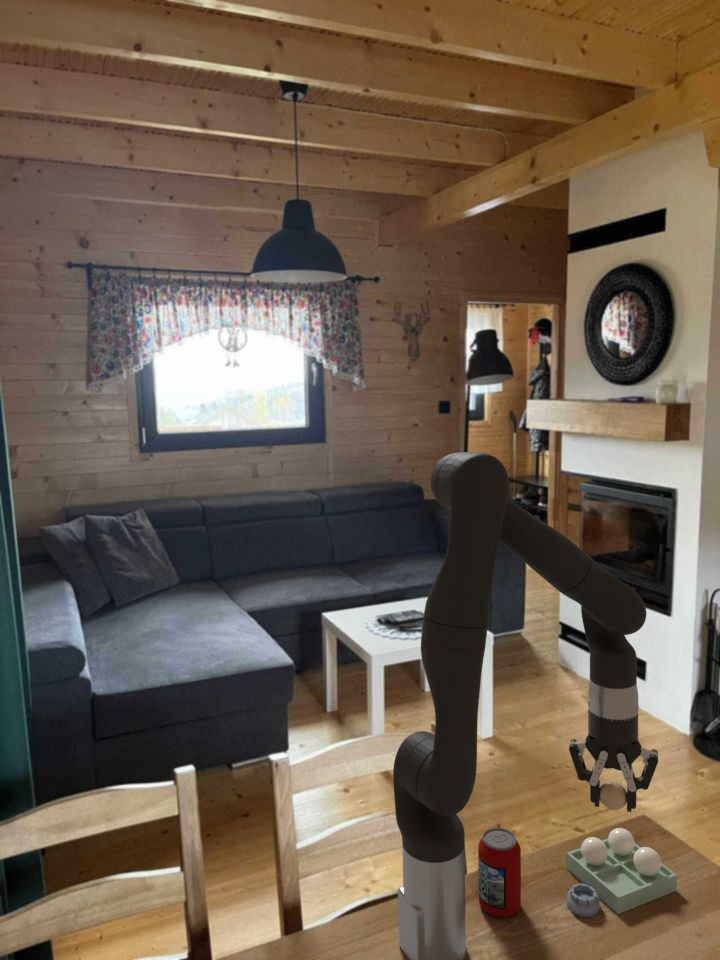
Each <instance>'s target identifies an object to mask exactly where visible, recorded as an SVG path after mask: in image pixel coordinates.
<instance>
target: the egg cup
mask: <svg viewBox="0 0 720 960" xmlns="http://www.w3.org/2000/svg"><path fill="white" fill-rule="evenodd" d="M566 897H567V900H566V902H567V903H566V905H567V908H568V910H569V911H570V912H571V913H572V914H573V915H575V916H576V917H580V918H587V919H589V918H593V917H596V916H598V914H599V913H600V904H601V902H600V900H601V899H600V898H599V896H598V895H597V892H596V890H595V889H594V888H592V887H591V886H589V887H588V885H587V884H584V883H582V882H580V883H575V884H572V885H571V886H570V889H569V890H568V892H567V894H566Z"/></svg>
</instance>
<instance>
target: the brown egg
mask: <svg viewBox="0 0 720 960" xmlns="http://www.w3.org/2000/svg"><path fill="white" fill-rule="evenodd" d="M599 799H600V804H602V805H603V806H604V807H605V808H606V809H608V810H611V811H619V810H621V809H623V808H624V807H625V806H627V789H626V788H625V787H624V786H623V785H622V783H619V782H618V781H615V780H606V781H605V782H603V783H602V784H600V789H599Z"/></svg>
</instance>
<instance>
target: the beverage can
mask: <svg viewBox="0 0 720 960" xmlns="http://www.w3.org/2000/svg"><path fill="white" fill-rule="evenodd" d="M477 847H478V851H477V852H478V853H477V854H478V855H477V858H478V859H477V861H478V865H477V867H478V868H477V869H478V871H477V873H478V876H477V877H478V902H479V906H480V907H481V908H482V909H483V910H484V911H485V912H486V913H488V914H490V915H493V916H495V917H501V918H503V917H508V916H512V915H514V914H516V913H517V912H518V911H519V910H520V909H521V903H522V902H521V901H522V900H521V899H522V896H521V895H522V894H521V893H522V874H521V873H522V855H521V854H522V851H521V845H520V843H519V842H518V840H517V836H516V835H515V834H514V833H513V831H510V829H506V828H502V827H492V828H488V829H487V830H485V831H484V832H483V833H482V837H481V838H480V840H479V842H478V845H477Z"/></svg>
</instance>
